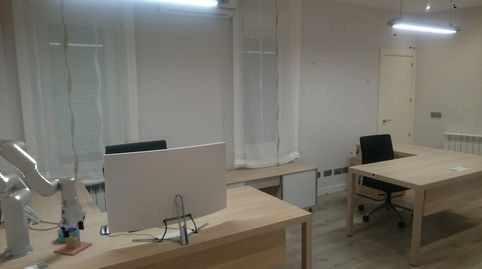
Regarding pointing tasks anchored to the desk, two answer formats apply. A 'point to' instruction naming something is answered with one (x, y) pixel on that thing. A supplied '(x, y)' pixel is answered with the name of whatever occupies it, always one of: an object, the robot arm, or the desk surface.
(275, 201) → the desk surface
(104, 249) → the desk surface
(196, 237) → the desk surface
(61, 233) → the bowl
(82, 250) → the mat
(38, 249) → the desk surface
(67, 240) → the lid
